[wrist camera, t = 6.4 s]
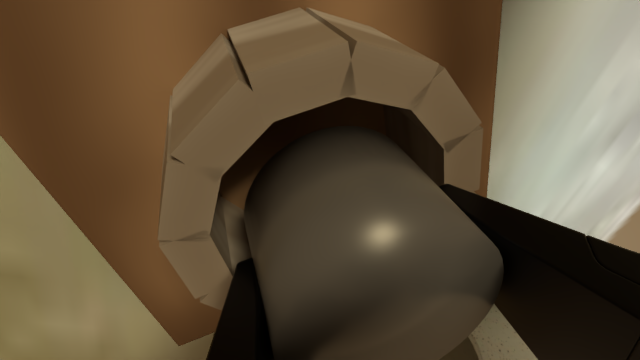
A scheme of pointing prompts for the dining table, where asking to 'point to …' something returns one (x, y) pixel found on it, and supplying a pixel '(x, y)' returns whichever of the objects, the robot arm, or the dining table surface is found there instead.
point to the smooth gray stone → (364, 253)
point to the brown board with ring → (228, 115)
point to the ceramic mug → (492, 342)
